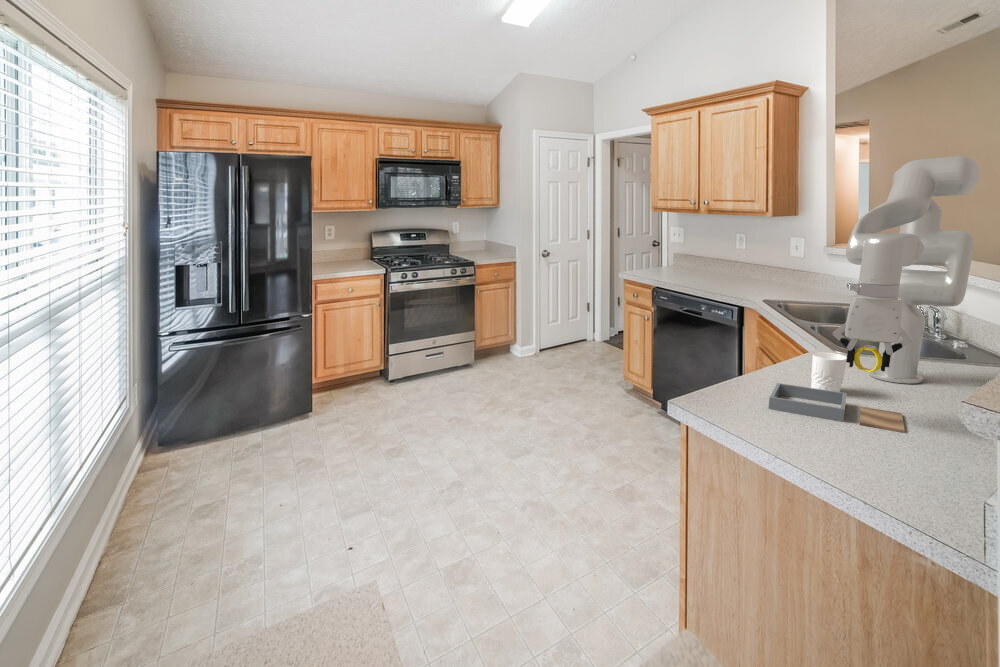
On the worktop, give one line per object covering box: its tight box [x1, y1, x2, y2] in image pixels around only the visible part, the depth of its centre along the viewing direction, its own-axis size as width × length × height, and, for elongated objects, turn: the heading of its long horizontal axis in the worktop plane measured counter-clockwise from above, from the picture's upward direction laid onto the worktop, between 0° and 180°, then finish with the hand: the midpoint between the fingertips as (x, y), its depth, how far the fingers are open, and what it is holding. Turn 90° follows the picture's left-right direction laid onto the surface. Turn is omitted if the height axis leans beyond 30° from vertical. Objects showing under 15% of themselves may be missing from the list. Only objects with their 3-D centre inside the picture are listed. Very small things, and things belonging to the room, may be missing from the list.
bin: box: [768, 382, 848, 422], centre depth 127 cm, size 14×16×3 cm
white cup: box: [810, 351, 847, 392], centre depth 137 cm, size 8×8×10 cm
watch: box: [854, 344, 882, 373], centre depth 117 cm, size 6×3×6 cm, turn 15°
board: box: [859, 406, 906, 433], centre depth 117 cm, size 12×8×1 cm, turn 144°
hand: (866, 367), depth 118 cm, fingers closed on watch, 5 cm apart
